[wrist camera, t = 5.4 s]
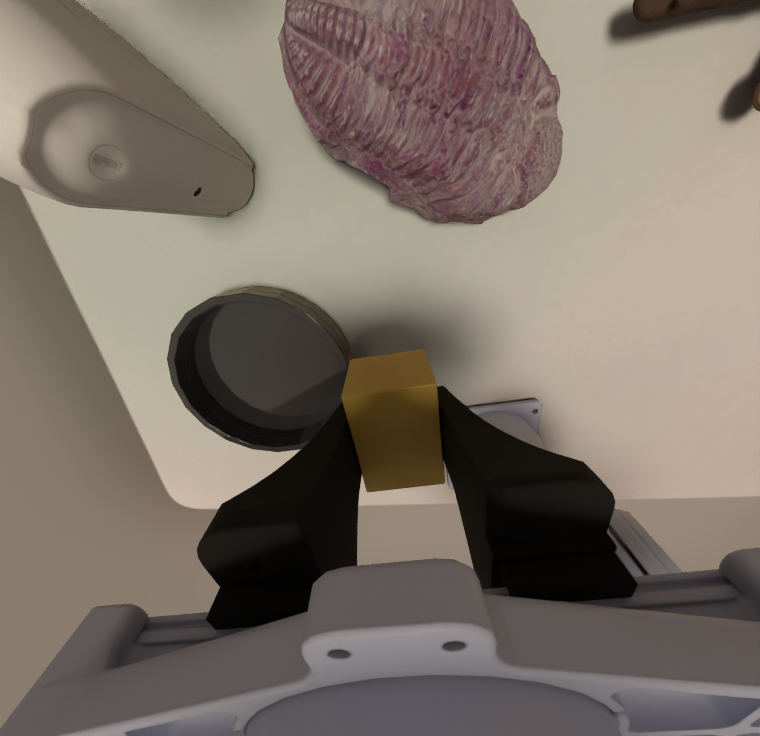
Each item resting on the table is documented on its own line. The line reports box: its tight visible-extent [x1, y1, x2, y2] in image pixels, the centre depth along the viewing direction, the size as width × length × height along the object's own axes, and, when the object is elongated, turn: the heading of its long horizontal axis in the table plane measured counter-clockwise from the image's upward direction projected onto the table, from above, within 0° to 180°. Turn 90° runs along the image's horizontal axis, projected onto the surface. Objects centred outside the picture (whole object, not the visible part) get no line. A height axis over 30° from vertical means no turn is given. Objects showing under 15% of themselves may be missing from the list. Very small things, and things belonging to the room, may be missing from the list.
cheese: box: [341, 349, 445, 492], centre depth 12 cm, size 5×3×3 cm
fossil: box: [278, 0, 563, 224], centre depth 13 cm, size 8×14×5 cm, turn 70°
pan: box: [167, 286, 353, 452], centre depth 20 cm, size 13×13×3 cm
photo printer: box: [0, 0, 254, 218], centre depth 9 cm, size 10×4×12 cm, turn 49°
